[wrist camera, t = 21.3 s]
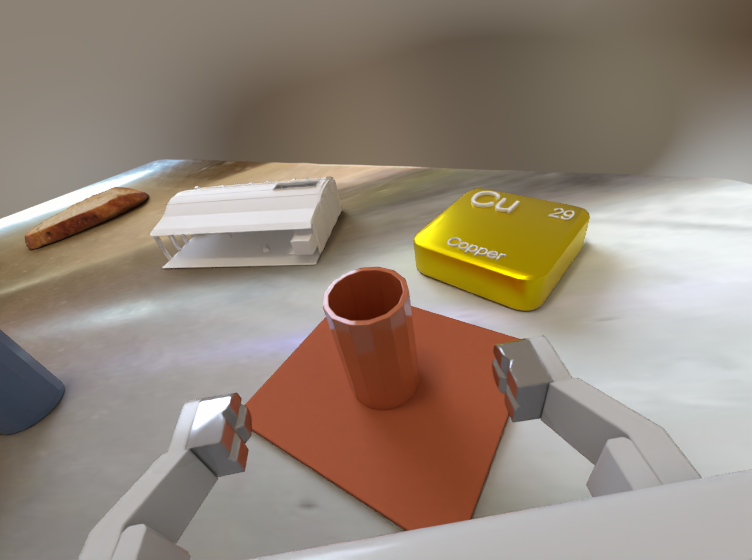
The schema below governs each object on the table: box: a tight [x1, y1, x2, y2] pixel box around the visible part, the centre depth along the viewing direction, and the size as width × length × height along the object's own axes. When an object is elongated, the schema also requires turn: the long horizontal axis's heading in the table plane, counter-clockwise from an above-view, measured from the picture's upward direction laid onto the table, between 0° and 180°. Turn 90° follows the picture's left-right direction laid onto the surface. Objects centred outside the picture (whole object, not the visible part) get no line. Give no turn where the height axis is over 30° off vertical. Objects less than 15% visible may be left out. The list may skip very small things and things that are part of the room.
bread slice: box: [25, 187, 149, 249], centre depth 70 cm, size 18×18×4 cm
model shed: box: [150, 177, 342, 268], centre depth 54 cm, size 25×15×7 cm, turn 81°
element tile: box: [413, 188, 590, 311], centre depth 42 cm, size 15×15×5 cm
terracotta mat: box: [244, 306, 520, 531], centre depth 32 cm, size 18×20×1 cm
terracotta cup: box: [323, 267, 420, 410], centre depth 28 cm, size 6×6×10 cm
